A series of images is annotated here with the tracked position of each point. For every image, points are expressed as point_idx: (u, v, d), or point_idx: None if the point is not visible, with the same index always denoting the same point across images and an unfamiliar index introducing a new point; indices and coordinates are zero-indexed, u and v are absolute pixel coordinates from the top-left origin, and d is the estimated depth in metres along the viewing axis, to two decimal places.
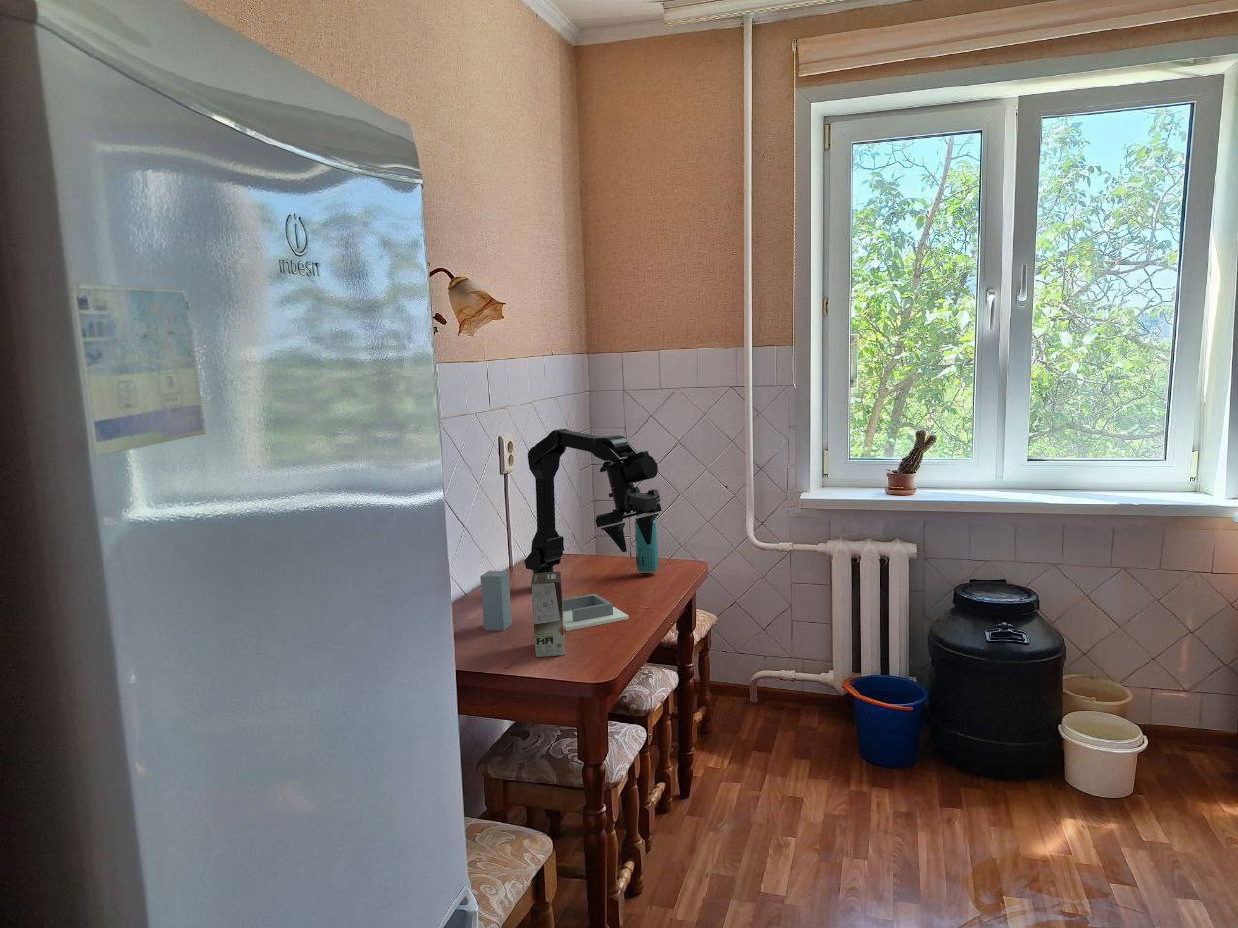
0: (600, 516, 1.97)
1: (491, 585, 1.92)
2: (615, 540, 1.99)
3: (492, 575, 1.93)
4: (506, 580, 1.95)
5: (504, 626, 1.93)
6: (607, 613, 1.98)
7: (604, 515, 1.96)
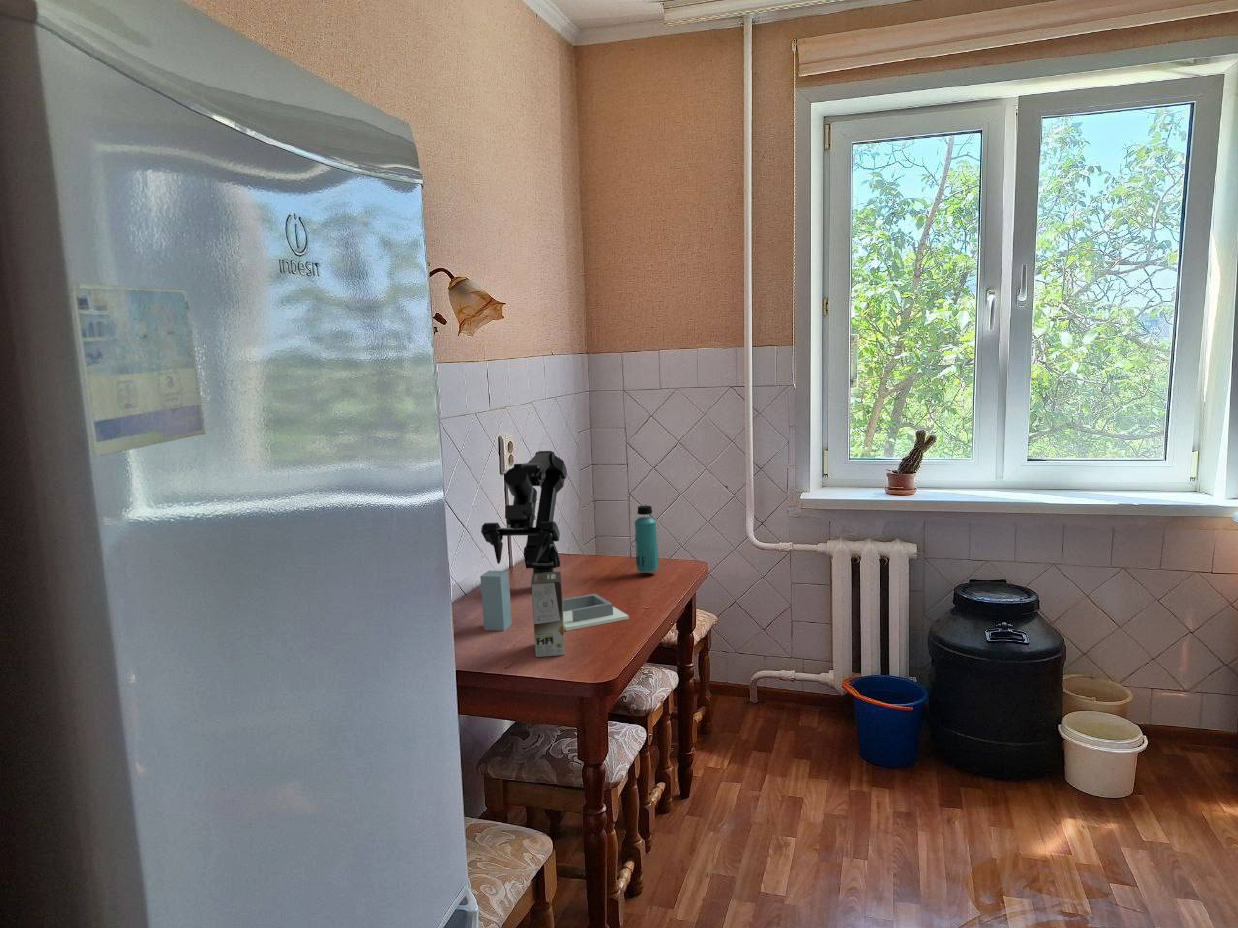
0: None
1: (491, 585, 1.92)
2: None
3: (492, 575, 1.93)
4: (506, 580, 1.95)
5: (504, 626, 1.93)
6: (607, 613, 1.98)
7: None
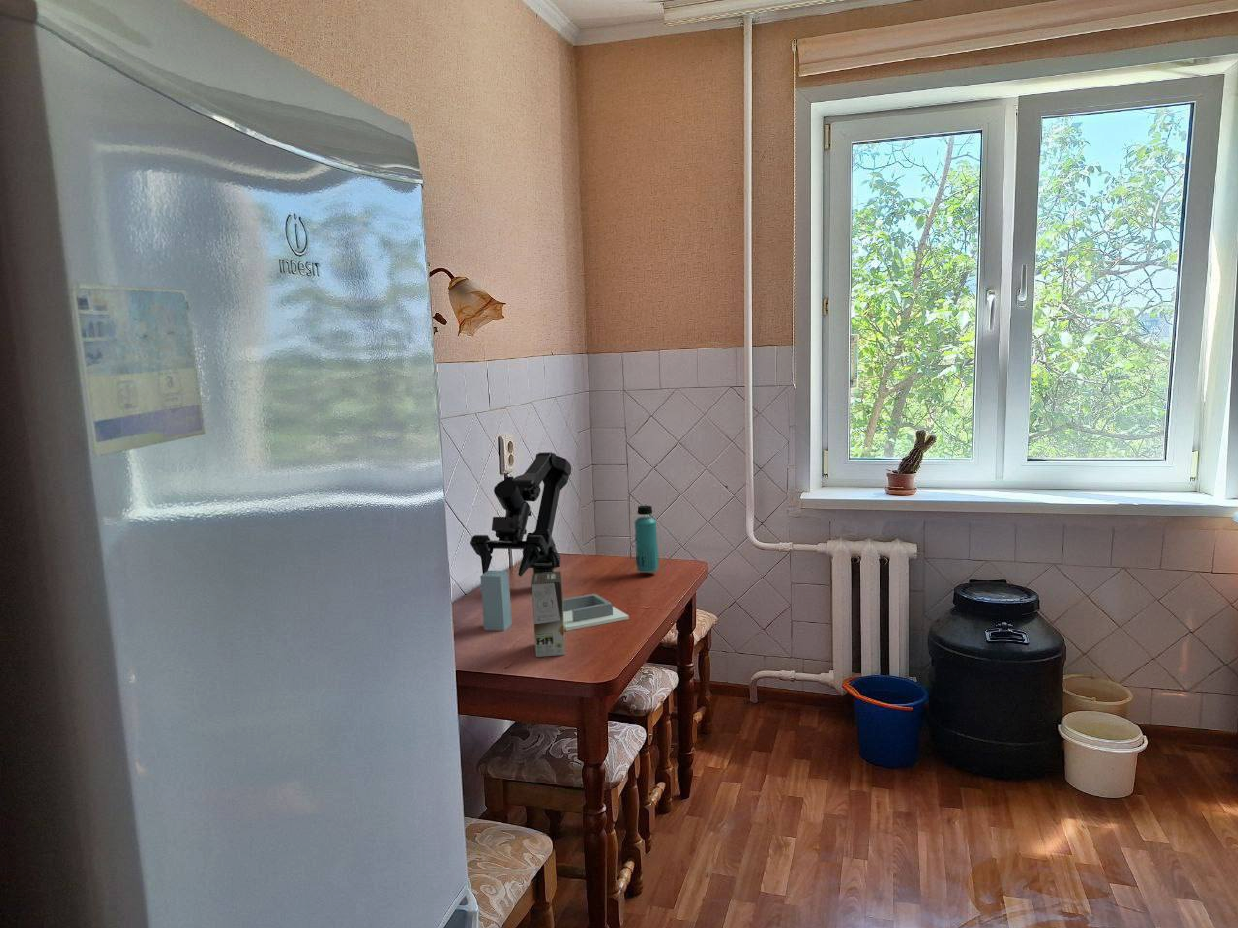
0: None
1: (491, 585, 1.92)
2: None
3: (492, 575, 1.93)
4: (506, 580, 1.95)
5: (504, 626, 1.93)
6: (607, 613, 1.98)
7: None
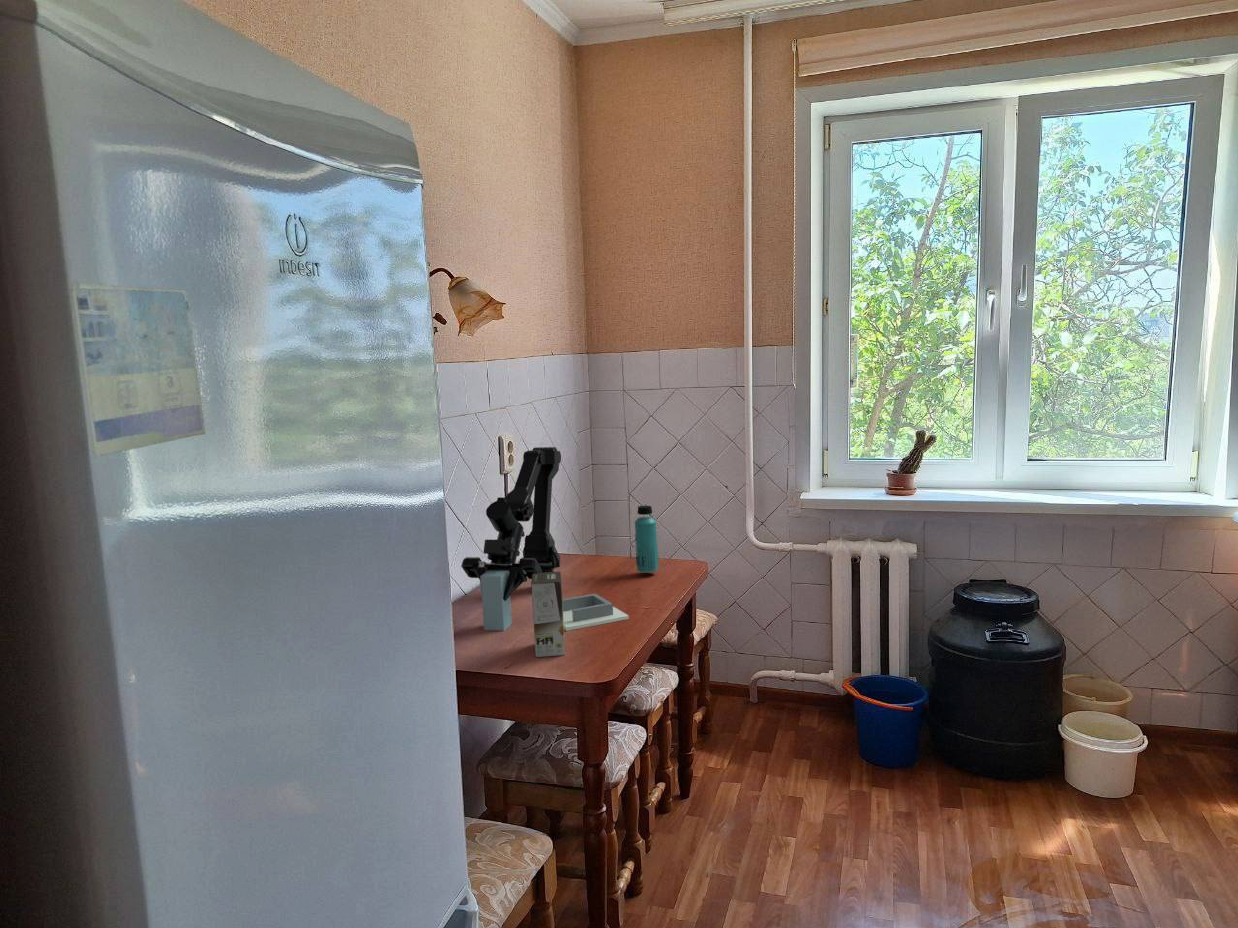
0: None
1: (491, 585, 1.92)
2: None
3: (492, 575, 1.93)
4: (506, 580, 1.95)
5: (504, 626, 1.93)
6: (607, 613, 1.98)
7: None
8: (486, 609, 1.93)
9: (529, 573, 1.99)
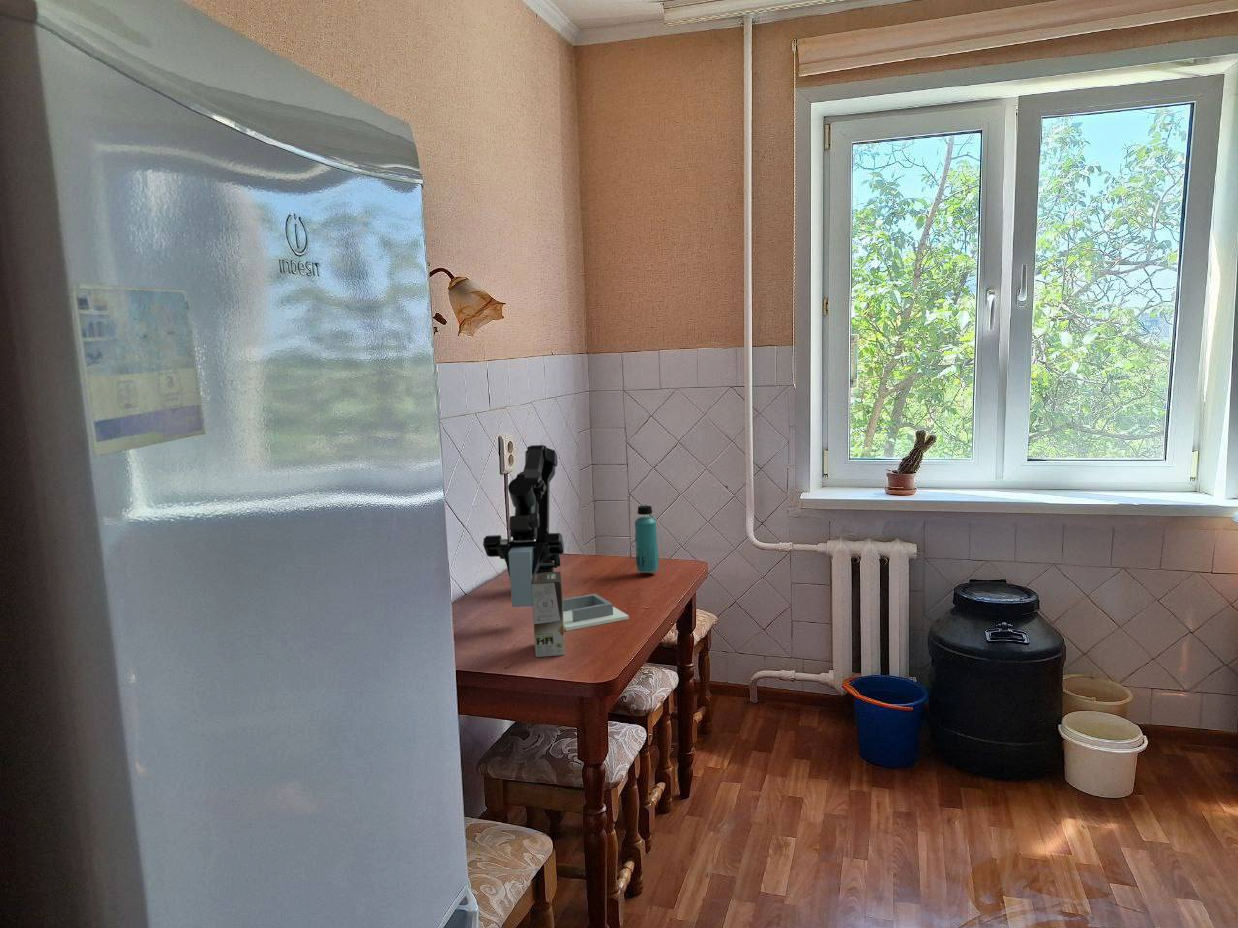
0: None
1: (520, 561, 1.92)
2: None
3: (520, 551, 1.92)
4: (532, 556, 1.95)
5: None
6: (607, 613, 1.98)
7: None
8: (514, 586, 1.92)
9: (551, 549, 2.00)
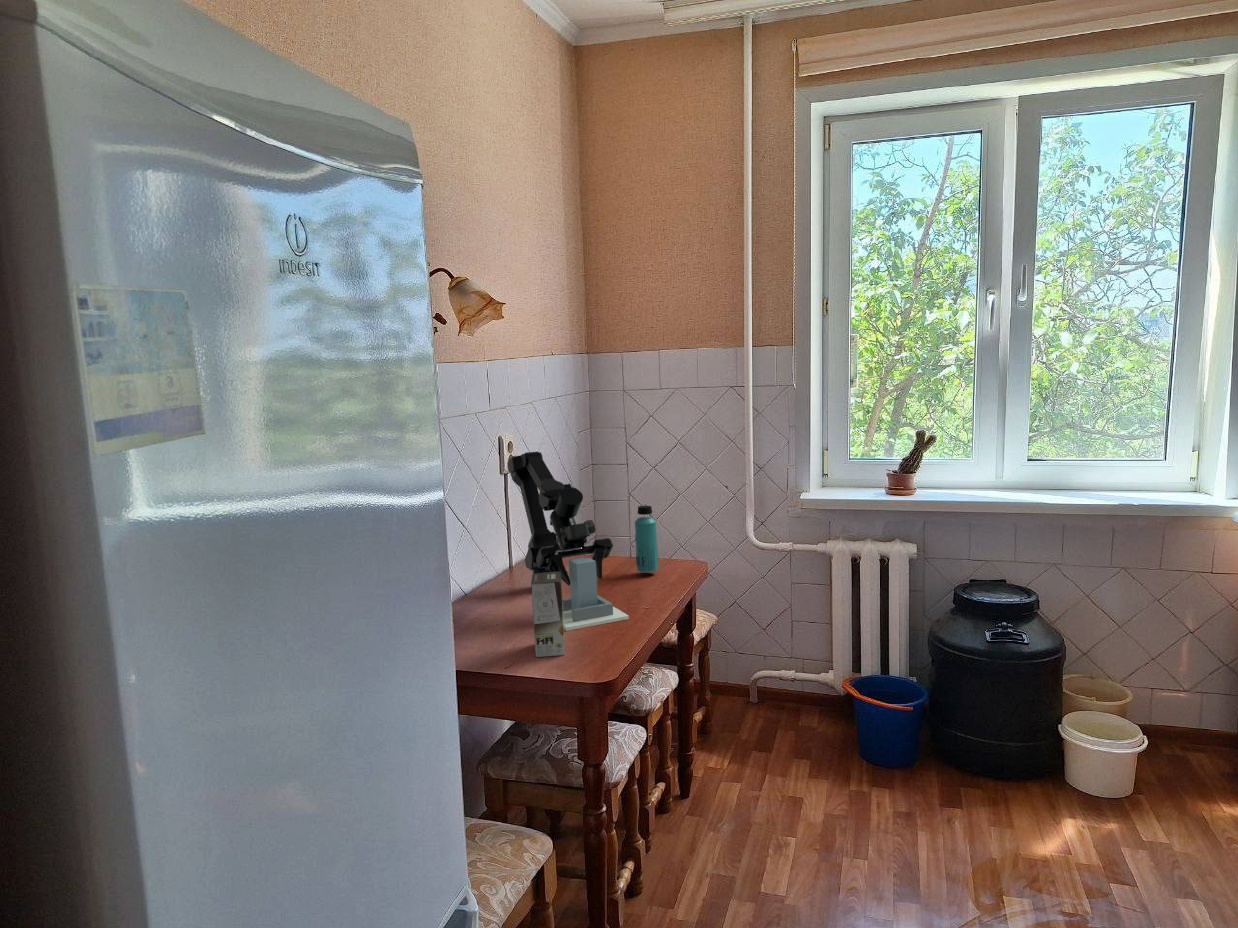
0: (537, 555, 2.01)
1: (587, 571, 1.97)
2: None
3: (585, 561, 1.98)
4: None
5: None
6: (607, 613, 1.98)
7: (538, 552, 2.00)
8: (582, 596, 1.97)
9: None
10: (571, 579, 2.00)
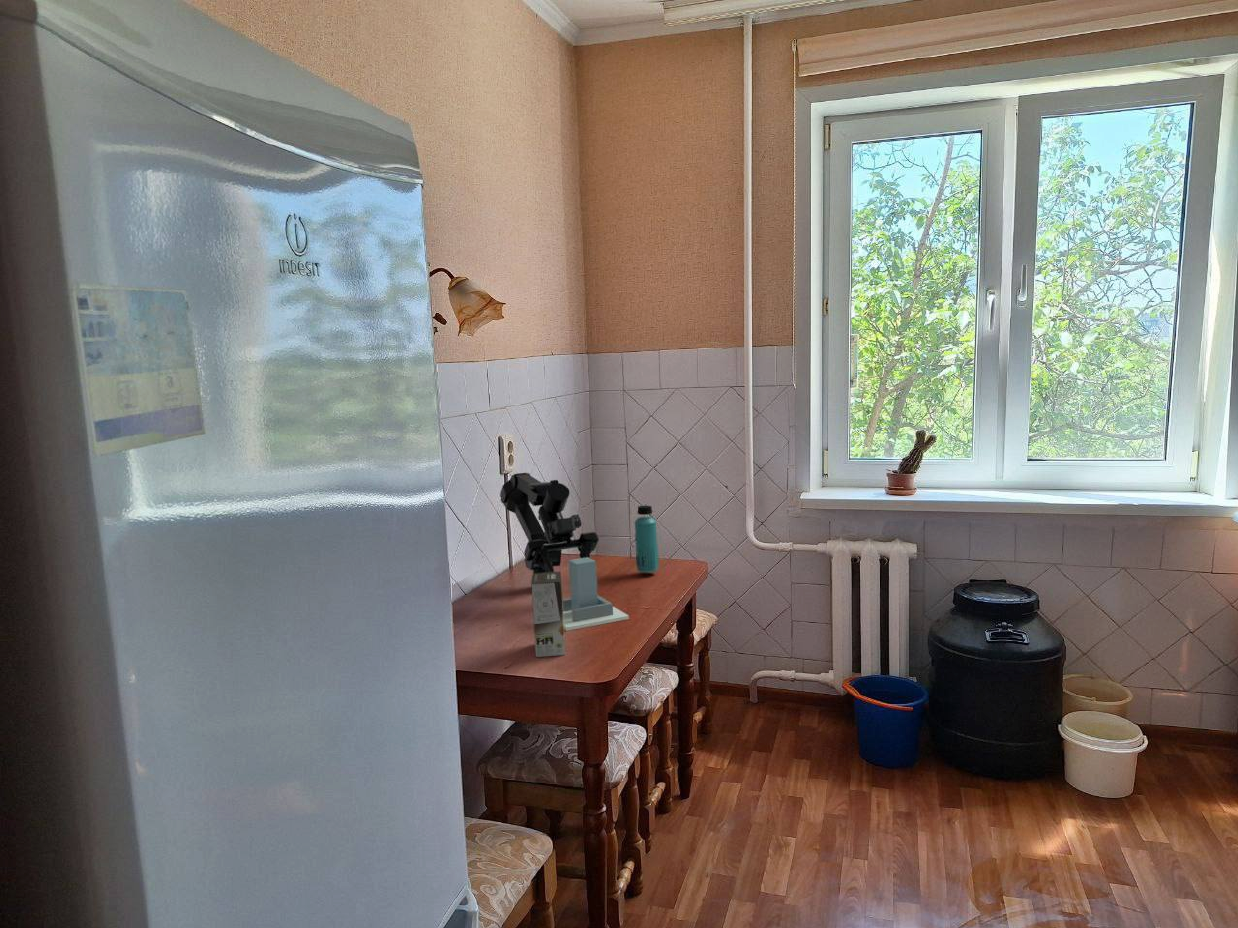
0: None
1: (587, 571, 1.97)
2: (545, 568, 2.07)
3: (585, 561, 1.98)
4: None
5: None
6: (607, 613, 1.98)
7: None
8: (582, 596, 1.97)
9: None
10: (571, 579, 2.00)
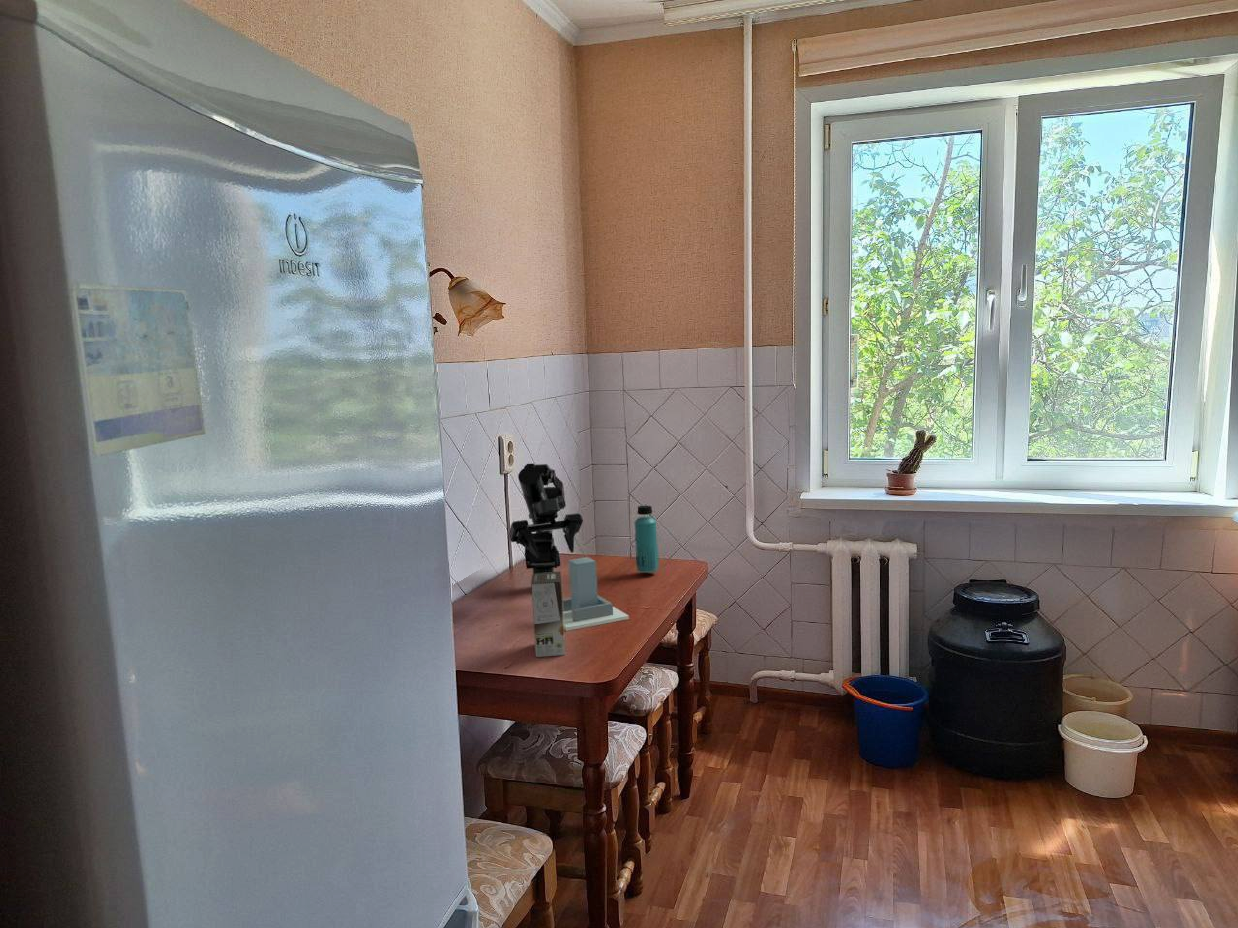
0: (510, 529, 2.10)
1: (587, 571, 1.97)
2: (529, 549, 2.08)
3: (585, 561, 1.98)
4: None
5: None
6: (607, 613, 1.98)
7: (511, 526, 2.09)
8: (582, 596, 1.97)
9: None
10: (571, 579, 2.00)
